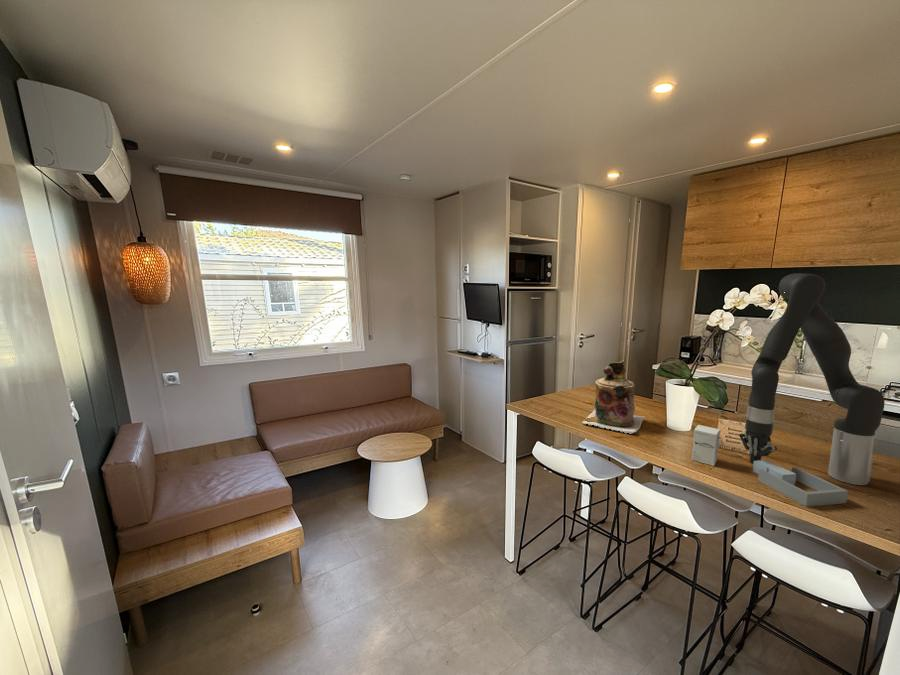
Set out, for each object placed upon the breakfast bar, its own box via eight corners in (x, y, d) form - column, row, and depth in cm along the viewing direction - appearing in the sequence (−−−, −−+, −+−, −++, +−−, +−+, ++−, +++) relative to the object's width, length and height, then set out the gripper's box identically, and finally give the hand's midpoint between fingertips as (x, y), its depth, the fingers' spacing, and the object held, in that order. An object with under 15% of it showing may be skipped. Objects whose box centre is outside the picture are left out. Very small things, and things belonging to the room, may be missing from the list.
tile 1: (765, 470, 130) (766, 459, 129) (779, 477, 125) (780, 466, 124) (752, 471, 129) (753, 460, 129) (766, 478, 125) (767, 467, 124)
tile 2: (779, 477, 125) (781, 466, 124) (795, 485, 120) (796, 473, 120) (767, 478, 125) (768, 467, 124) (781, 486, 120) (782, 474, 119)
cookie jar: (594, 411, 196) (596, 353, 191) (645, 420, 181) (648, 358, 177) (580, 425, 176) (582, 361, 172) (635, 436, 161) (639, 367, 157)
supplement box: (690, 460, 138) (693, 429, 137) (695, 454, 144) (697, 423, 142) (714, 466, 133) (717, 434, 132) (718, 460, 138) (720, 428, 137)
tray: (794, 477, 125) (795, 466, 124) (846, 503, 110) (848, 490, 109) (758, 480, 123) (759, 469, 123) (805, 506, 108) (807, 494, 108)
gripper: (787, 425, 123) (782, 472, 125) (752, 412, 136) (747, 455, 138) (768, 426, 122) (762, 473, 125) (734, 413, 135) (729, 456, 138)
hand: (754, 464), depth 132 cm, fingers closed
